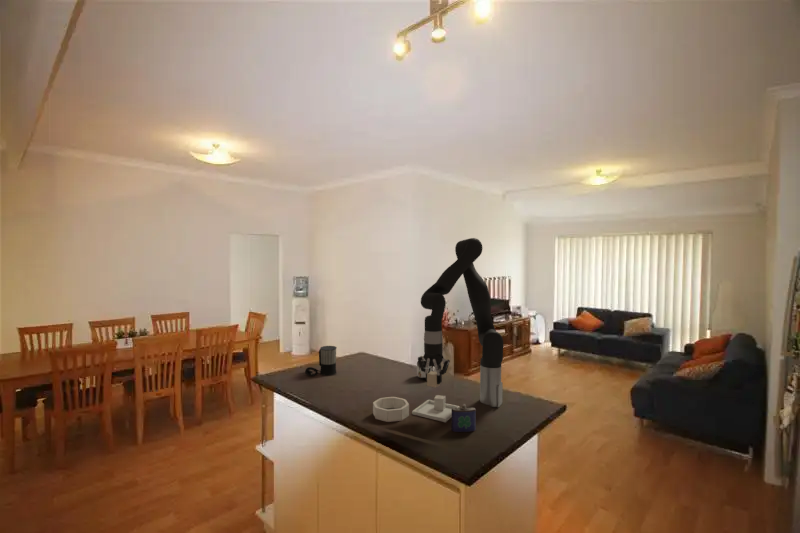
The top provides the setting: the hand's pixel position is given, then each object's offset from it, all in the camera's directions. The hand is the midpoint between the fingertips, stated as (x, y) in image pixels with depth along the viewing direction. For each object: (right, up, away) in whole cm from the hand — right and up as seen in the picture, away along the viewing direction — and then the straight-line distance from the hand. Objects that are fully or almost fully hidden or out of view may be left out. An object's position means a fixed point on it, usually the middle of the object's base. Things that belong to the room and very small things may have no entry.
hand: (433, 382), depth 153 cm
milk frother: (-58, -13, +57) cm, 83 cm away
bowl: (-18, -14, +1) cm, 23 cm away
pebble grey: (+3, -13, +6) cm, 15 cm away
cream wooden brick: (0, -1, 0) cm, 1 cm away
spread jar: (+2, -14, +51) cm, 53 cm away
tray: (+1, -14, +4) cm, 15 cm away
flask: (+10, -15, -13) cm, 22 cm away
